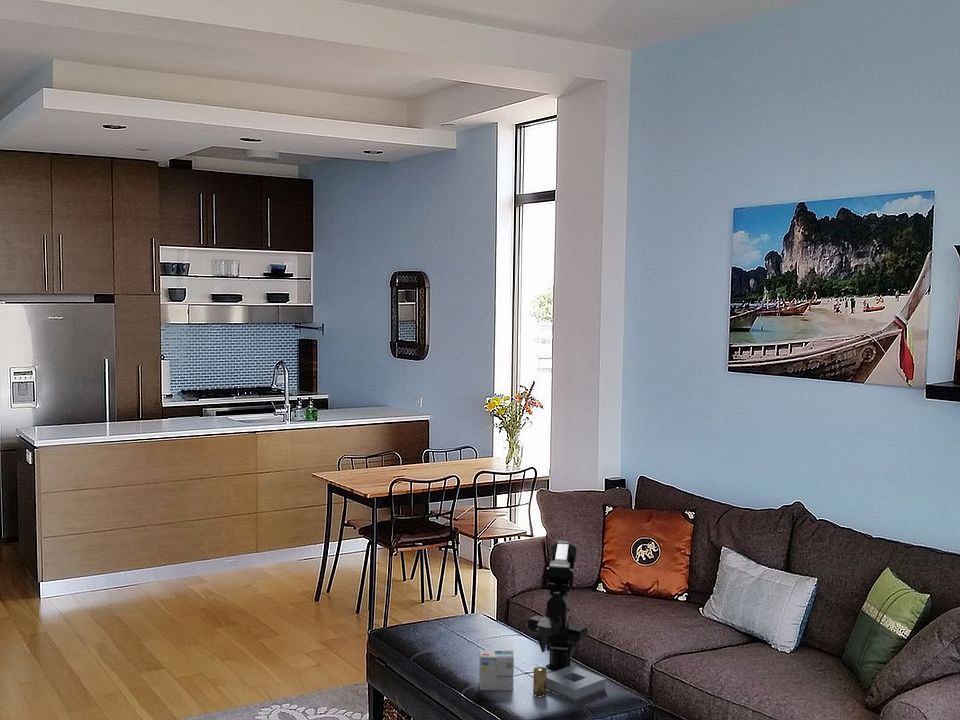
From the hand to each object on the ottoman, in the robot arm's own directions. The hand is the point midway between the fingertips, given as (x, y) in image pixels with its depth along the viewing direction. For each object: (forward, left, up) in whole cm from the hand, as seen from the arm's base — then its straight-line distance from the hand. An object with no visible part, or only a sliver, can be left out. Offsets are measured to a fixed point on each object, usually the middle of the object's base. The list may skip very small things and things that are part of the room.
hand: (556, 655), depth 315 cm
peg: (-3, -3, -12) cm, 13 cm away
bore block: (+1, +8, -12) cm, 15 cm away
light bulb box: (-16, -9, -13) cm, 23 cm away
